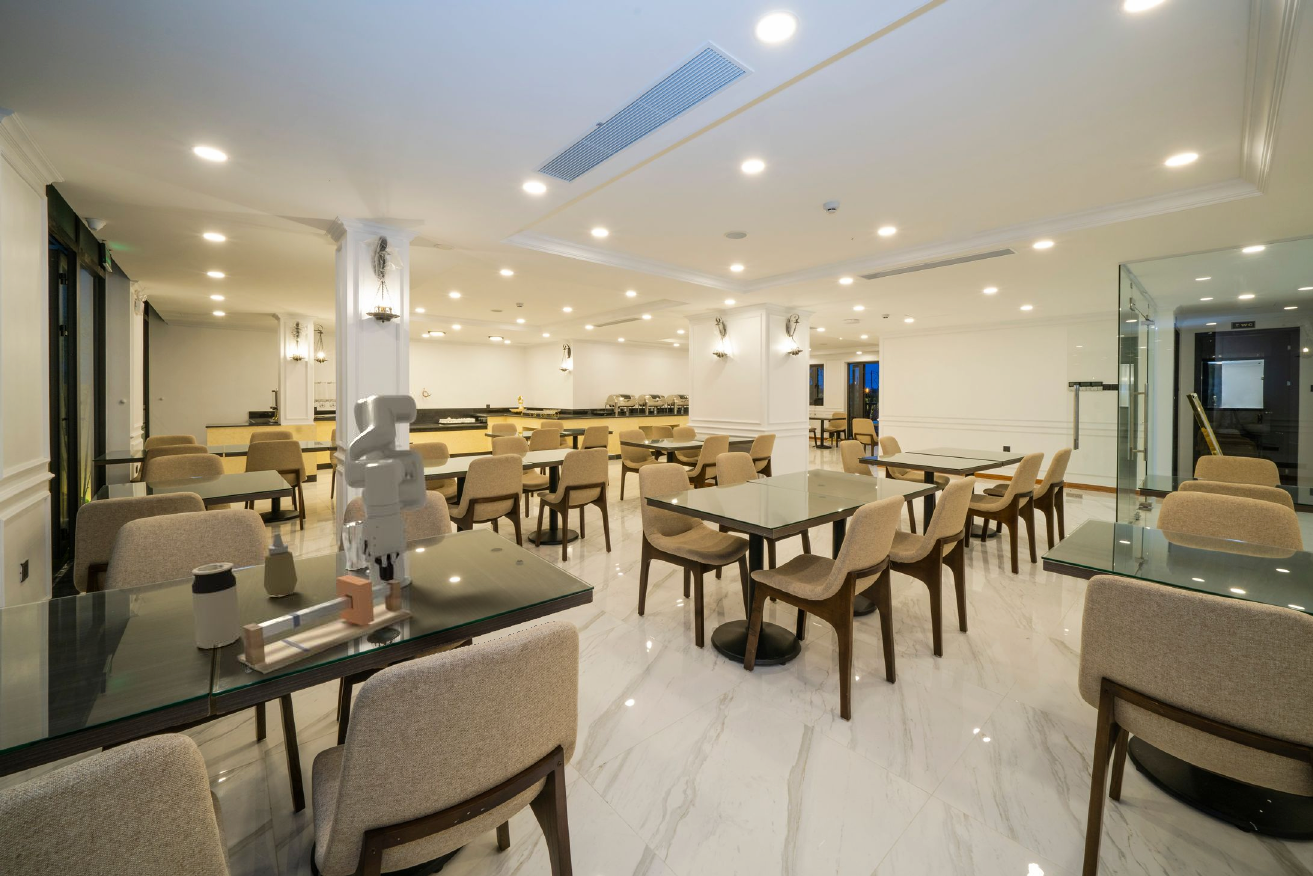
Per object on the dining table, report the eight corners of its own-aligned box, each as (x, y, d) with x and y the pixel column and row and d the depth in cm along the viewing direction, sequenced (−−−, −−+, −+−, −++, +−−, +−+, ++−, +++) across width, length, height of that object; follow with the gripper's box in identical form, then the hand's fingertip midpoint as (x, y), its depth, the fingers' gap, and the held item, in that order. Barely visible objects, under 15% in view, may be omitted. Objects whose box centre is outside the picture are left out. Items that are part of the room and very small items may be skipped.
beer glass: (344, 572, 178) (341, 527, 177) (344, 566, 184) (342, 522, 183) (368, 569, 181) (365, 524, 180) (368, 563, 187) (365, 520, 186)
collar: (338, 617, 137) (336, 578, 136) (350, 613, 140) (348, 574, 139) (362, 625, 132) (359, 585, 131) (373, 621, 134) (371, 581, 134)
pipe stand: (237, 660, 119) (234, 622, 119) (383, 607, 148) (382, 576, 148) (264, 674, 113) (261, 634, 112) (411, 615, 142) (410, 584, 142)
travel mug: (205, 653, 123) (198, 575, 121) (191, 645, 127) (184, 569, 125) (246, 639, 129) (240, 565, 128) (231, 632, 134) (226, 560, 132)
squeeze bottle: (257, 597, 156) (253, 535, 155) (286, 588, 164) (281, 529, 162) (276, 601, 153) (272, 538, 152) (304, 591, 161) (300, 531, 159)
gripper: (400, 503, 149) (404, 569, 151) (345, 514, 136) (350, 586, 138) (418, 506, 145) (421, 573, 147) (363, 517, 133) (368, 591, 134)
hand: (387, 579), depth 142 cm, fingers closed
